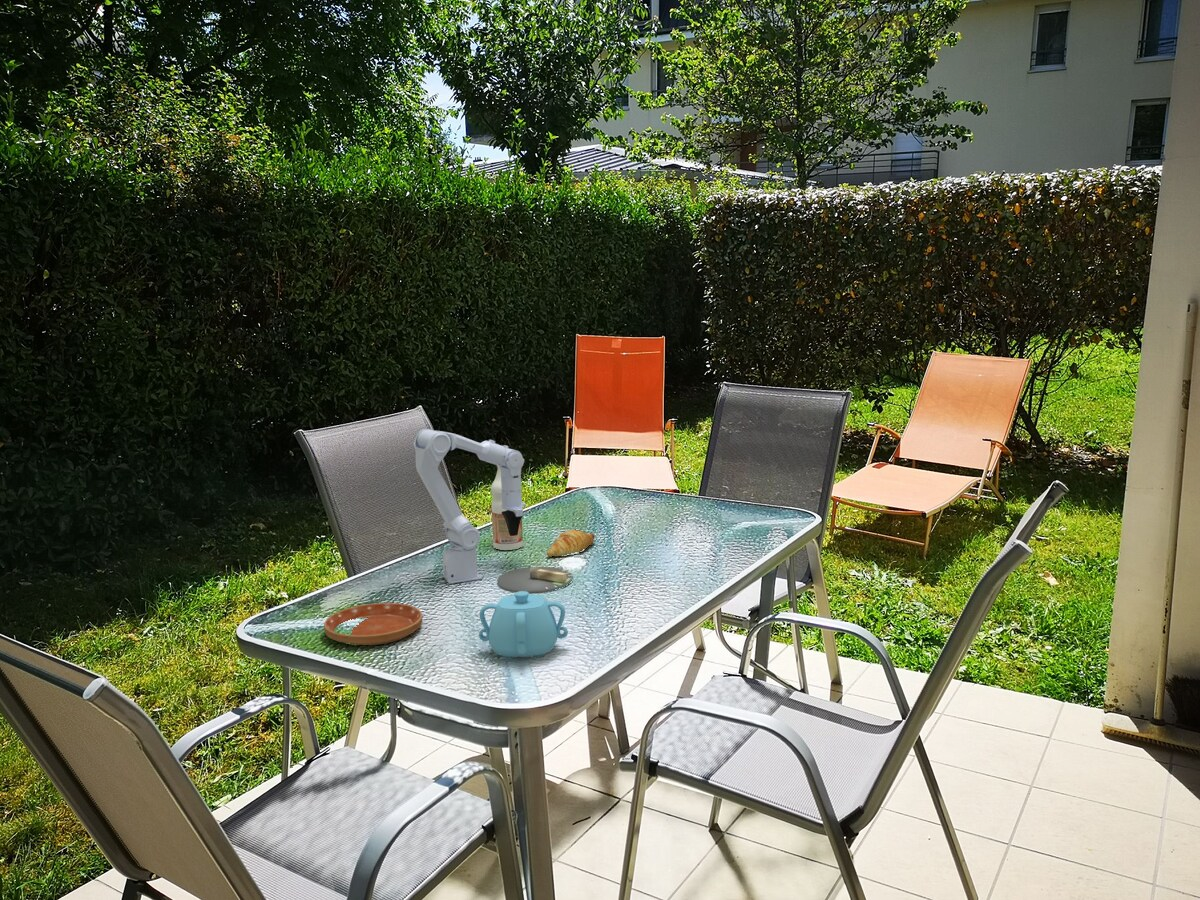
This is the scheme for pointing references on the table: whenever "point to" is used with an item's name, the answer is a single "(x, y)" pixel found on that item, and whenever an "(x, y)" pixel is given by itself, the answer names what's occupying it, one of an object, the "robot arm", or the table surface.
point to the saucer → (375, 623)
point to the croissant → (570, 543)
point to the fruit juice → (502, 520)
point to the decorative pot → (522, 625)
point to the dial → (530, 581)
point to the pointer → (547, 575)
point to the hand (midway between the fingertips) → (513, 535)
